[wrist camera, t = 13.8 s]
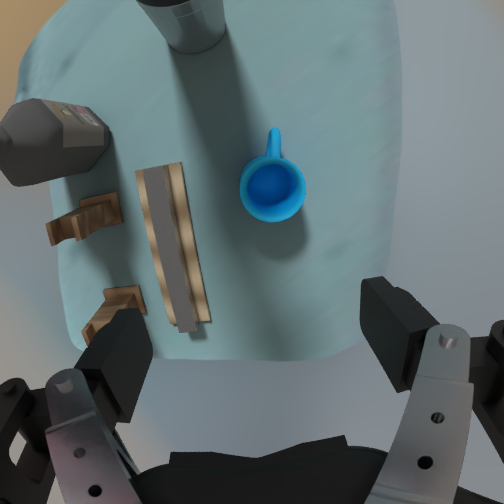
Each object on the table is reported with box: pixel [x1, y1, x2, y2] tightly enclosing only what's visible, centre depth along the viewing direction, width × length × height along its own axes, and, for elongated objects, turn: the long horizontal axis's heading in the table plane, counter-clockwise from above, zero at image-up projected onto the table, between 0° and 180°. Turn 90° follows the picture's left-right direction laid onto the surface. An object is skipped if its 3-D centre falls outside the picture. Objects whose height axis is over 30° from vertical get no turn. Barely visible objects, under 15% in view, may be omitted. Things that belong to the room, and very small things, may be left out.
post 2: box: [81, 285, 147, 346], centre depth 44 cm, size 5×7×12 cm
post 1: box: [46, 192, 123, 246], centre depth 39 cm, size 5×7×12 cm
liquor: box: [0, 98, 109, 187], centre depth 27 cm, size 9×9×30 cm
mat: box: [135, 162, 210, 324], centre depth 47 cm, size 26×7×1 cm, turn 7°
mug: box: [239, 128, 306, 222], centre depth 40 cm, size 12×8×8 cm
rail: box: [142, 165, 199, 333], centre depth 45 cm, size 26×3×3 cm, turn 7°
